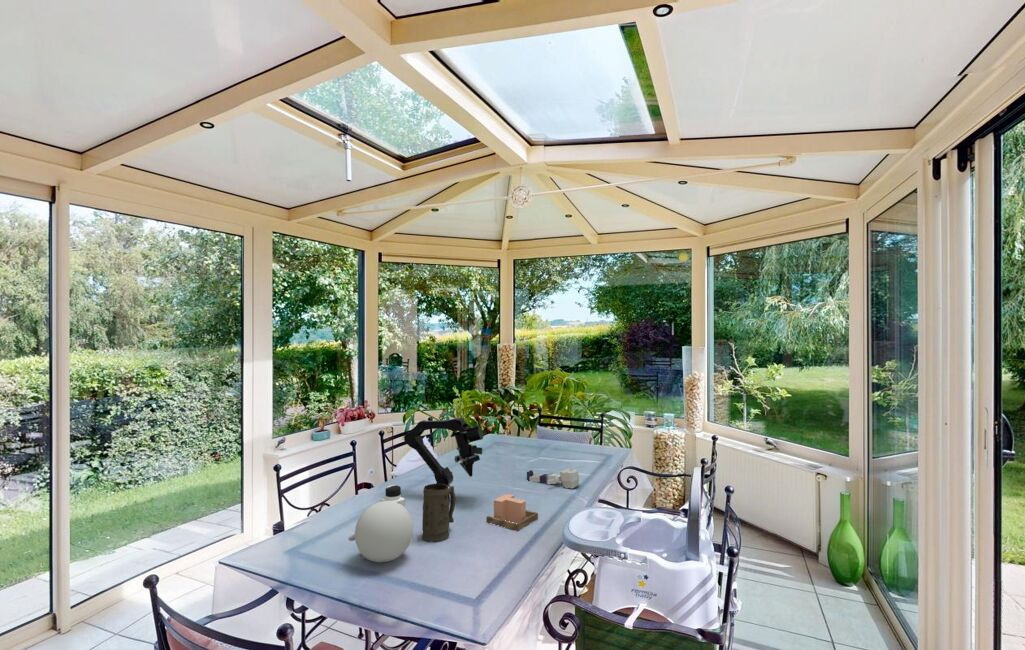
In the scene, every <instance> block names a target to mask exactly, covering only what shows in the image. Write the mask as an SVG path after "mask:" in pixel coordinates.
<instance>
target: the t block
mask: <svg viewBox="0 0 1025 650" xmlns="http://www.w3.org/2000/svg"><path fill="white" fill-rule="evenodd" d="M526 502H527V501H526V500H524V499H519V498H515V495H514V494H509V493H506V494H504V495H502V496H500V497H497V498H495V499H493V517H494V518H498V519H501V520H506V521H510V522H514V523H519V522H521V521H522V520H524V519H526V518H527V517H526V510H527V509H526V507H527V505H526V504H527V503H526Z"/></svg>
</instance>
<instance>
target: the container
mask: <svg viewBox="0 0 1025 650" xmlns="http://www.w3.org/2000/svg"><path fill="white" fill-rule="evenodd" d="M401 489H402V487H401V486H399V485H396V484H395V485H394V484H392V485H388V486H386V487H385V492H384V493H385V497H384V498H381V499H380V502H383V501H392V502H396V503H399V504H401V505H403V506H404V507H405V508H406V498H404V497H401V495H402V493H401V491H402V490H401Z"/></svg>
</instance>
